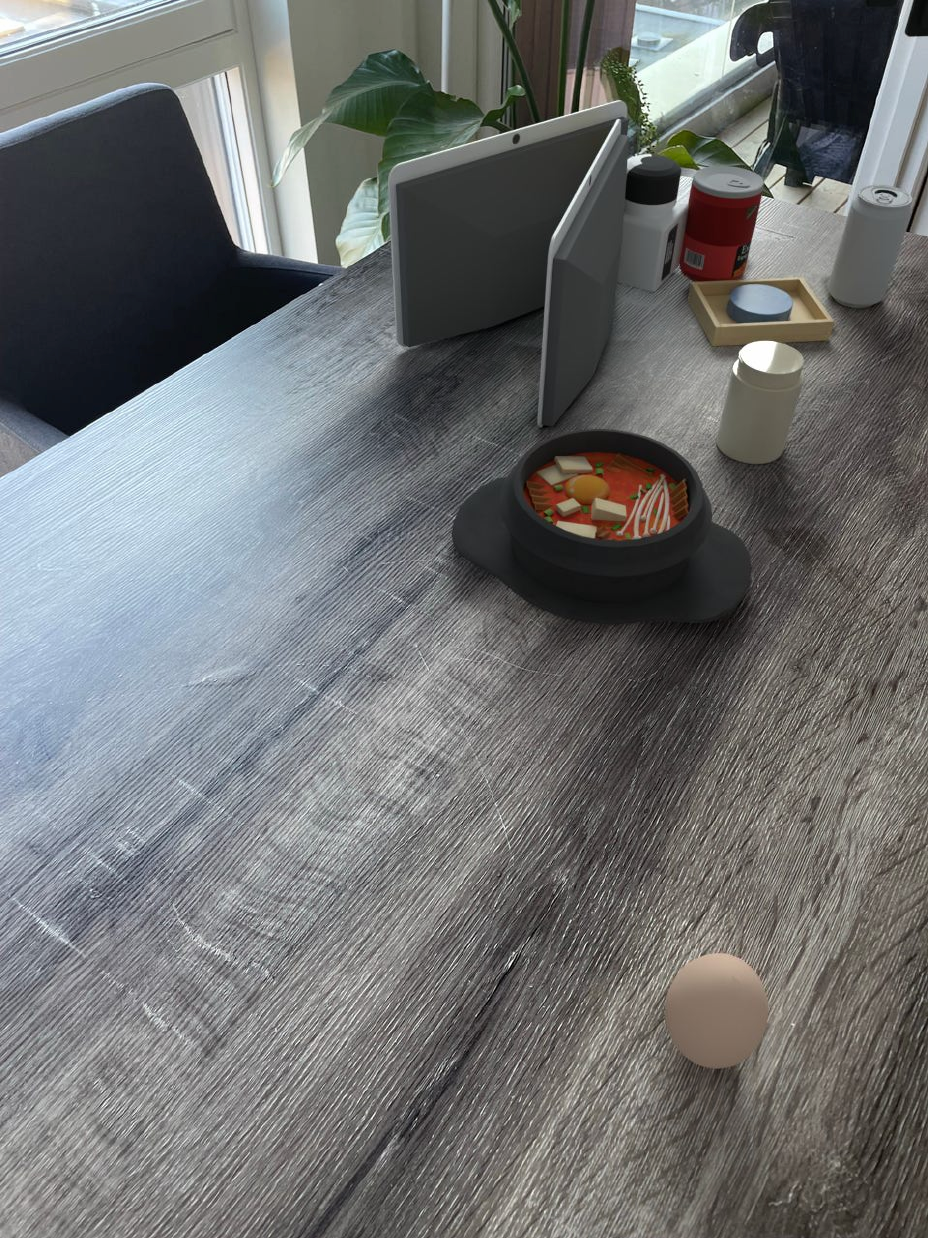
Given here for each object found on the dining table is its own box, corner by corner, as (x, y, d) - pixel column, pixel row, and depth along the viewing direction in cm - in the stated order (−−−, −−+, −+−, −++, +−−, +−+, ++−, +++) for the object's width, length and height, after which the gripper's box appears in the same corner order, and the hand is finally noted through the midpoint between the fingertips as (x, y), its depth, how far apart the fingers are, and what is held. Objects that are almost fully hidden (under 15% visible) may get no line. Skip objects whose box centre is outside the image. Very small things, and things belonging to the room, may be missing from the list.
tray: (797, 295, 117) (802, 276, 115) (828, 340, 110) (834, 321, 108) (687, 300, 116) (690, 281, 114) (711, 346, 109) (715, 327, 107)
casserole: (764, 531, 87) (787, 452, 81) (721, 681, 75) (745, 601, 69) (496, 465, 93) (499, 387, 87) (417, 593, 81) (414, 514, 75)
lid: (720, 321, 111) (723, 306, 110) (734, 293, 115) (737, 279, 114) (782, 334, 109) (786, 319, 108) (794, 306, 113) (798, 291, 112)
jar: (771, 423, 99) (794, 336, 92) (792, 462, 94) (819, 374, 87) (708, 426, 98) (727, 340, 91) (726, 466, 94) (748, 378, 87)
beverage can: (886, 290, 118) (920, 188, 109) (877, 315, 114) (912, 211, 105) (831, 279, 119) (860, 177, 111) (820, 303, 115) (850, 200, 107)
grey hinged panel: (575, 439, 96) (596, 243, 82) (363, 403, 100) (348, 210, 86) (631, 274, 120) (655, 100, 106) (457, 250, 124) (458, 79, 110)
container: (679, 267, 121) (698, 156, 111) (654, 293, 116) (671, 180, 107) (621, 251, 123) (634, 142, 114) (594, 277, 119) (606, 165, 109)
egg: (743, 997, 58) (776, 930, 52) (756, 1091, 54) (793, 1031, 49) (652, 991, 58) (675, 923, 52) (659, 1085, 55) (683, 1023, 49)
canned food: (745, 288, 118) (766, 194, 110) (677, 282, 119) (693, 189, 111) (743, 258, 123) (763, 167, 115) (677, 253, 124) (693, 162, 116)
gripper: (880, -220, 91) (830, -4, 103) (967, -191, 79) (898, 49, 91) (959, -220, 91) (899, -6, 104) (1057, -192, 79) (977, 46, 92)
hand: (899, 19), depth 97 cm, fingers open, 9 cm apart
